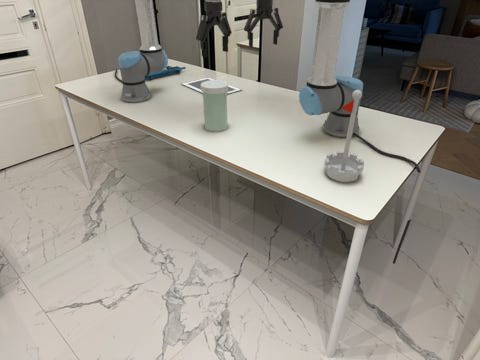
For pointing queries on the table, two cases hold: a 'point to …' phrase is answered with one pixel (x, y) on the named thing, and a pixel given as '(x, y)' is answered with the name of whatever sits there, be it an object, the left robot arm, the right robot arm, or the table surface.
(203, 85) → the lid
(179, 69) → the submachine gun
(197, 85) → the tablet
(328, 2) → the right robot arm
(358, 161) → the flag stand
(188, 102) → the table surface
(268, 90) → the table surface
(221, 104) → the jar
